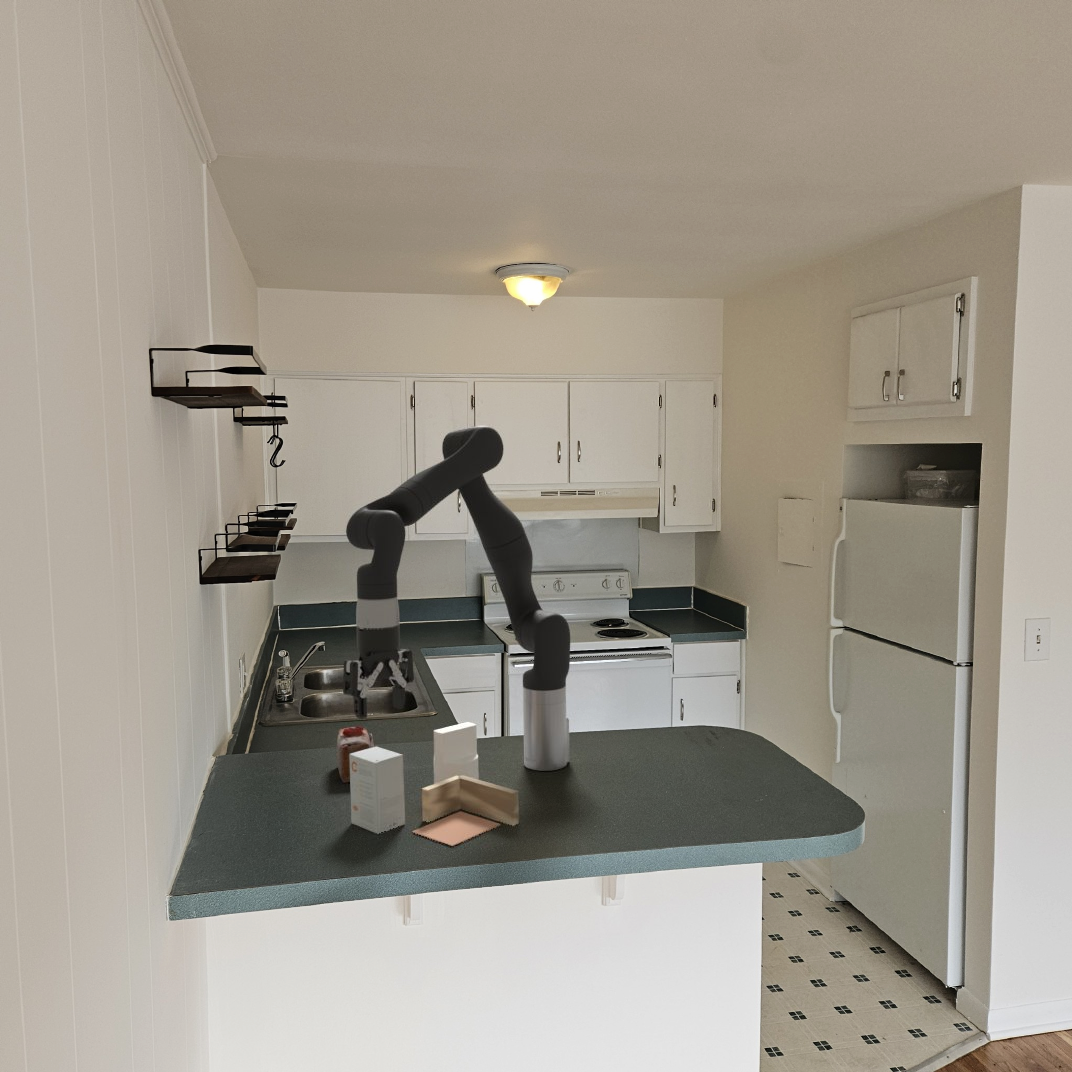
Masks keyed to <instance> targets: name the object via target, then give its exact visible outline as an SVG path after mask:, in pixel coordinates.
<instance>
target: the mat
mask: <svg viewBox="0 0 1072 1072" xmlns="http://www.w3.org/2000/svg"><path fill="white" fill-rule="evenodd" d="M499 825H500V826H501V823H500V822H499V823H498V822H497V821H496V822H495V821H494V820H493V821H492V820H490V819H487V818H484V817H480V816H478V815H475V814H472V813H471V814H470V813H469V812H465V811H462V810H459V811H456V812H454V813H452V814H449V815H448V816H446V817H445V816H444V817H443V818H441V819H438V820H435V821H432V822H430V823H429V824H427V825H425V826H424V825H423V826H422V827H420V828H417V829H415V830H412V832H413V833H412V832H411V833H412V834H414V833H415V835H417V834H418V835H417V836H419V835H421V836H420V837H422V836H424V837H423V838H425V837H427V838H426V839H428V838H429V840H431V839H432V840H431V841H433V840H435V841H434V842H436V841H438V842H437V843H439V842H442V843H445V844H448V845H451V846H454V845H456V844H459V843H461V842H463V843H465V842H467V841H469V840H468V839H470V840H471V838H472V837H474V838H475V836H476V837H479V836H480V835H479V834H481V835H483V834H484V832H485V833H487V832H490V831H491V829H492V830H494V829H496V828H498V827H500V826H499ZM497 826H498V827H497ZM493 828H494V829H493ZM486 831H487V832H486ZM482 833H483V834H482ZM472 839H473V838H472ZM466 840H467V841H466ZM464 841H465V842H464ZM442 843H441V844H442ZM445 844H444V845H445ZM461 844H462V843H461ZM459 845H460V844H459ZM454 847H455V846H454Z"/></svg>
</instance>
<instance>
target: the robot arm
mask: <svg viewBox="0 0 1072 1072" xmlns="http://www.w3.org/2000/svg"><path fill="white" fill-rule="evenodd" d="M441 444H442V445H441V448H442V449H441V451H442V452H441V453H442V456H443V460H442V461H440V462H438V463H436V464H434V465H431V466H430V467H427V468H426V469H424V470H421V471H420V472H418V473H416V474H414V475H413V476H411V477H409V478H408V479H407V480H406V481H404V482H403V483H402V484H401V485H399V486H398V487H396V488H395V489H394V490H393V491H392V492H390V493H388V494H387V495H385V496H382V497H379V498H378V499H375V500H374V501H372V502H370V503H367V504H365V505H364V506H362V507H360V508H359V509H357V510H356V511H355V512H354V513H352V515H351V516H350V518H349V519H348V522H347V525H346V529H345V532H346V533H345V534H346V538H347V540H348V542H349V544H351V545H352V546H354V547H355V548H357V549H360V550H371V551H373V555H372V559H371V562H370V563H369V562H368V563H365V564H362V565H360V567H358V568H357V572H356V596H357V597H356V600H357V601H356V609H355V616H356V617H355V619H356V626H355V627H356V648H357V650H358V653H359V656H358V658H357V660H348V659H346V660H345V661H344V662H343V675H342V676H343V677H342V679H343V681H342V682H343V683H342V685H343V686H342V687H343V688H342V693H343V694H344V695H347V696H350V697H351V696H352V697H353V714H354V715H355V716H356V718H358V719H361V720H364V719H366V718H367V717H368V709H367V707H368V703H367V702H368V701H367V698H368V697H367V694H368V692H369V690H370V688H371V687H373V685H374V684H375V682H379V681H381V680H383V679H385V680H388V679H389V681H390V682H391V684H392V685H393V686H392V707H394V708H395V709H399V710H400V709H403V708H404V707H405V703H406V686H407V685H408V684H409V683H413V682H414V679H415V676H414V675H415V674H414V663H413V652H412V650H411V649H405V648H400V646H401V638H400V637H401V635H400V634H401V631H400V630H401V629H400V605H399V600H398V577H397V576H398V573H399V572H398V570H399V568H400V563H401V558H402V555H403V554H402V553H403V551H404V547H405V542H406V527H409V526H411V525H414V524H415V523H417V522H418V521H420V520H421V519H422V518H423V517H425V515H426V514H428V513H429V512H430V511H431V510H433V509H434V508H435V507H437V505H439V504H440V503H441V502H442V501H443V500H445V499H446V498H447V497H449V496H450V495H451V494H453V493H454V492H455V491H457V490H458V491H459V493H460V496H461V497H462V500H463V501H464V503H465V505H466V507H467V510H468V512H469V515H470V517H471V519H472V521H473V524H474V527H475V528H476V531H477V535H478V536H479V539H480V542H481V546H482V547H483V550H484V552H485V554H486V557H487V561H488V562H489V564H490V566H491V569H492V572H493V574H494V577H495V579H496V581H497V584H498V587H499V589H500V590H499V591H501V595H502V597H503V599H504V602H505V605H506V609H507V612H508V616H509V621H510V624H511V628H512V631H513V635H514V636H515V640H516V641H517V643H518V645H519V646H520V647H521V648H522V649H523V650H526V651H527V652H530V653H533V666H532V668H531V669H528V670H526V671H524V673H523V675H522V708H523V709H522V712H523V714H522V715H523V765H524V767H526V768H527V769H530V770H533V771H539V772H540V771H543V772H544V771H545V772H546V771H547V772H548V771H550V772H551V771H557V770H559V769H563V768H565V767H567V764H568V763H569V762H570V719H569V717H567V687H566V686H567V677H568V674H569V672H570V664H571V663H570V661H571V659H570V657H571V630H570V626H569V623H568V621H567V619H566V618H565V617H564V616H563V615H562V614H559V613H557V612H551V611H547V610H543V608H542V607H541V605H540V602H539V601H538V599H537V598H538V597H537V596H536V592H535V591H534V587H533V583H532V573H533V572H532V571H533V563H534V562H533V551H532V546H531V544H530V540H529V539H528V536H527V533H526V531H525V528H524V526H523V524H522V522H521V520H520V519H519V517H518V516H517V515H516V514H515V513H514V512H513V511H512V510H511V509H510V508H509V507H508V506H507V505H506V504H505V503H503V502H502V501H501V500H500V499H499V498H498V497H497V496H496V495H495V493H494V492H493V491H492V489H491V488H490V486H489V484H488V483H487V480H486V478H485V476H484V474H485V473H487V472H489V471H491V470H493V469H495V468H496V467H497V466H499V464H500V463H501V462H502V458H503V455H504V443H503V439H502V437H501V435H500V434H499V432H498V431H497V430H496V429H495V428H494V427H491V426H488V425H475V426H470V427H465V428H460V429H456V430H453V431H450V432H448V433H447V434H446V435H445V436H444V438H443V441H442V443H441ZM399 648H400V649H399ZM397 665H399V666H397ZM365 678H366V679H365Z"/></svg>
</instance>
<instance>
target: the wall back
mask: <svg viewBox="0 0 1072 1072" xmlns="http://www.w3.org/2000/svg"><path fill="white" fill-rule="evenodd" d="M458 778H460V810H461V809H462V810H461V811H464V810H465V811H464V812H467V811H469V812H468V813H471V812H472V813H471V814H474V813H475V814H474V815H477V814H478V815H477V816H480V815H481V817H482V818H486V817H487V818H486V819H489V818H491V819H490V820H493V821H496V822H499V821H500V822H499V823H502V822H503V824H505V823H506V824H505V825H508V824H509V825H510V826H511V825H512V827H514V826H516V824H517V825H518V824H519V817H520V816H519V815H520V814H519V791H518V790H516V789H512V788H508V787H507V786H506V787H505V786H502V785H498V784H495V783H491V782H487V781H484V780H481V779H479V780H478V779H474V778H471V777H467V776H463V775H462V776H459V777H458Z"/></svg>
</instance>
